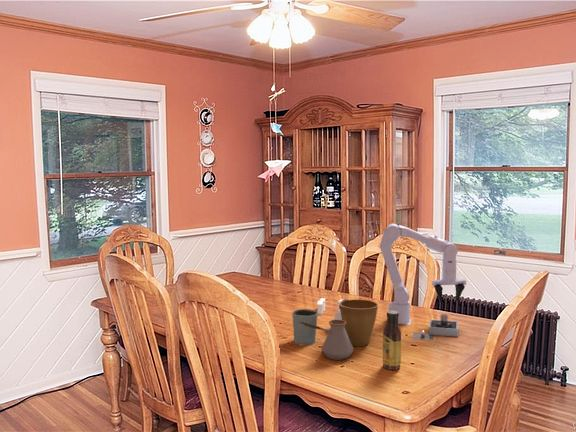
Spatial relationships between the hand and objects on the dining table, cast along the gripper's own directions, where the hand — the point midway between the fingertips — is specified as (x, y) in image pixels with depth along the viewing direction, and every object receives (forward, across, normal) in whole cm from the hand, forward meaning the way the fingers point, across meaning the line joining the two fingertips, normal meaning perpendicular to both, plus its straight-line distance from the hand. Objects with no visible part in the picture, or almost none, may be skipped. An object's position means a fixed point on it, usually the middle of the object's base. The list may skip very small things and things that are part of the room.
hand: (448, 301), depth 229 cm
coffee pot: (+11, -58, -35) cm, 69 cm away
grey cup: (+11, -64, -16) cm, 67 cm away
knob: (+10, -6, -11) cm, 16 cm away
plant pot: (+11, -44, -20) cm, 49 cm away
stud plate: (+10, -17, -16) cm, 25 cm away
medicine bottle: (+11, -46, +1) cm, 47 cm away
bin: (+10, -6, -11) cm, 16 cm away
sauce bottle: (+11, -37, -46) cm, 60 cm away
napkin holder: (+11, -52, +28) cm, 60 cm away
